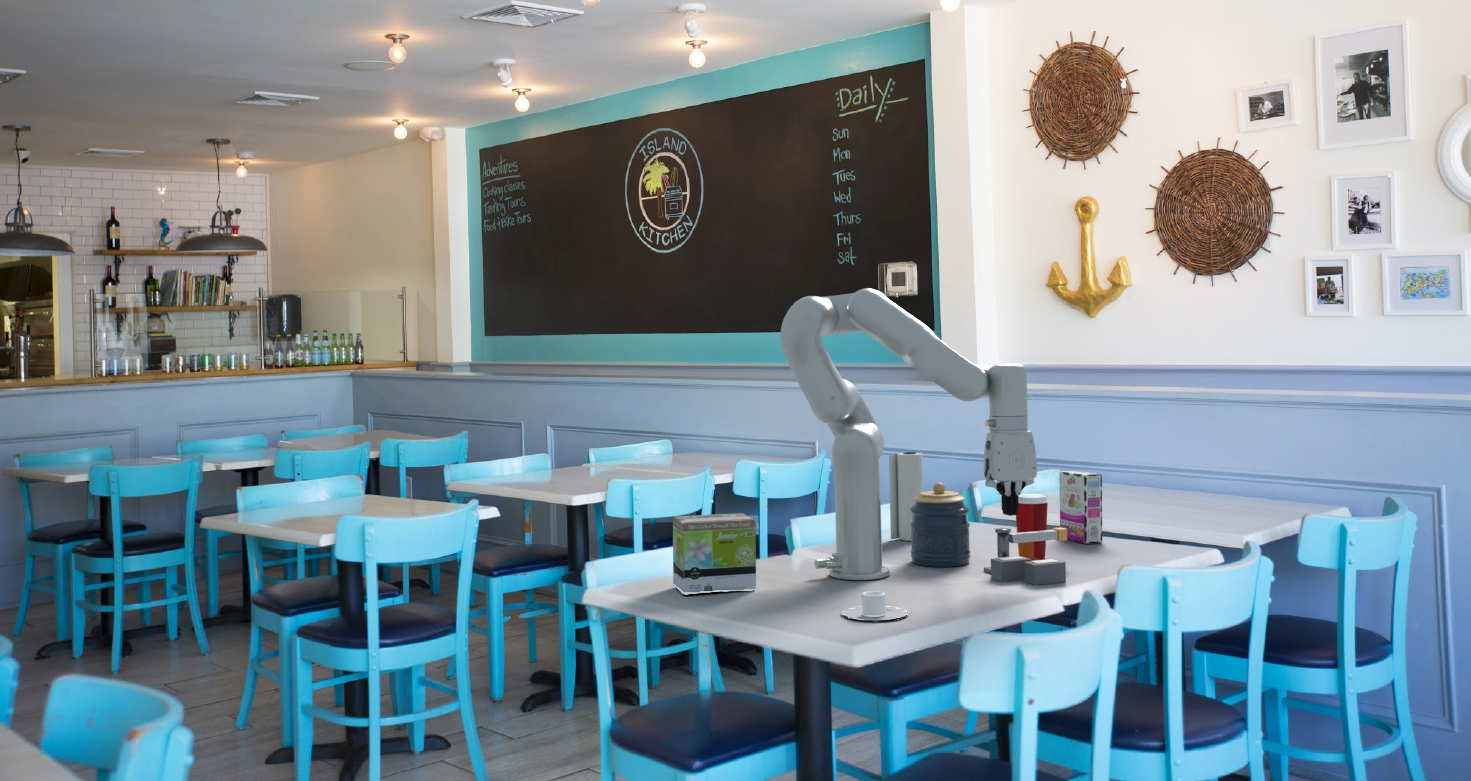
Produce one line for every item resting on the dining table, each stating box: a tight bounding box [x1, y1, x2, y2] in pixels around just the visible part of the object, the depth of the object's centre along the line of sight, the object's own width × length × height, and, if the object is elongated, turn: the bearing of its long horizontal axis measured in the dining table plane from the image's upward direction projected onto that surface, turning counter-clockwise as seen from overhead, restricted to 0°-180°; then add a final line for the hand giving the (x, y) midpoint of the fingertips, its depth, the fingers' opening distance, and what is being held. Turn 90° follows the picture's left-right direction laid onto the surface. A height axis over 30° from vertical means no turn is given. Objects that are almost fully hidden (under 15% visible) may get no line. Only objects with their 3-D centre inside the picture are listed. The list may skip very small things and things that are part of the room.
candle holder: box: [841, 590, 909, 619], centre depth 215 cm, size 12×12×4 cm
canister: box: [910, 482, 971, 568], centre depth 263 cm, size 13×13×18 cm
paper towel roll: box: [888, 451, 924, 542], centre depth 293 cm, size 7×6×21 cm
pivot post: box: [983, 527, 1012, 574], centre depth 250 cm, size 6×6×9 cm
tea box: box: [672, 512, 757, 592], centre depth 240 cm, size 15×10×15 cm, turn 105°
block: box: [990, 555, 1031, 583], centre depth 243 cm, size 7×4×4 cm, turn 109°
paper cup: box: [1015, 493, 1050, 561], centre depth 265 cm, size 8×8×14 cm
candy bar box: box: [1058, 470, 1103, 545], centre depth 286 cm, size 11×5×16 cm, turn 17°
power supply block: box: [1023, 558, 1067, 586], centre depth 239 cm, size 7×4×4 cm, turn 109°
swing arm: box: [1009, 526, 1068, 544], centre depth 252 cm, size 13×2×2 cm, turn 109°
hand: (1010, 514), depth 243 cm, fingers closed
